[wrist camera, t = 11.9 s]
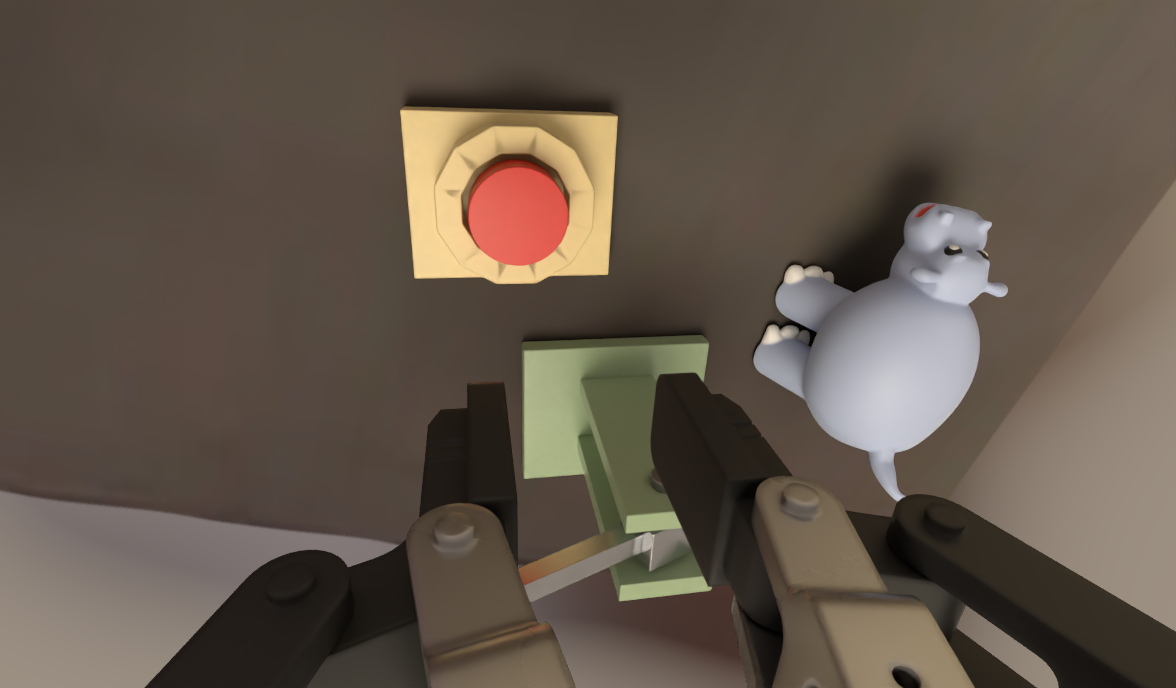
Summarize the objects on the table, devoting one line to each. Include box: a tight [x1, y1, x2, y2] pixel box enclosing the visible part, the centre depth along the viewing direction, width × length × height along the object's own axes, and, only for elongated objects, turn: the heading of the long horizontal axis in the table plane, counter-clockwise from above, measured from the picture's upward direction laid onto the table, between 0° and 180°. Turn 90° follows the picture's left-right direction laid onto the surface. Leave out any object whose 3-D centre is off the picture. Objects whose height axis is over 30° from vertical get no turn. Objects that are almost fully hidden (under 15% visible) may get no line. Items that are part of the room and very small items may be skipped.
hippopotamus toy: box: [753, 203, 1008, 501], centre depth 34 cm, size 11×15×10 cm
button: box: [468, 159, 569, 266], centre depth 27 cm, size 4×4×2 cm
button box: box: [400, 106, 618, 284], centre depth 29 cm, size 10×8×4 cm
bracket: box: [522, 335, 712, 601], centre depth 32 cm, size 11×9×13 cm
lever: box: [518, 521, 692, 602], centre depth 26 cm, size 13×5×2 cm, turn 87°
